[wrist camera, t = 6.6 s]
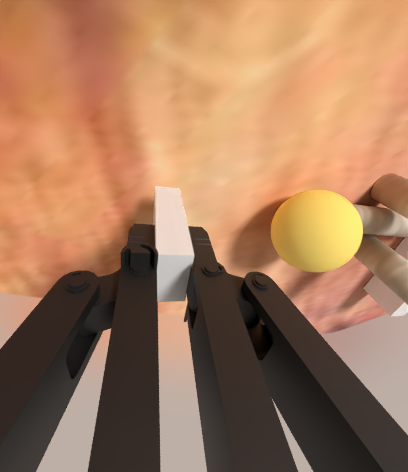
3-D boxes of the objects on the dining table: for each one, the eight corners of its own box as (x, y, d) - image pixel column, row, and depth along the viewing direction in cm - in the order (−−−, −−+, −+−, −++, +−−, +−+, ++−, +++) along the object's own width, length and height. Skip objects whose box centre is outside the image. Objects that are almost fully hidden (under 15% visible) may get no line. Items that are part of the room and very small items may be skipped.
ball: (363, 188, 17) (285, 169, 18) (403, 229, 12) (292, 201, 13) (325, 249, 21) (261, 232, 21) (344, 300, 16) (259, 276, 16)
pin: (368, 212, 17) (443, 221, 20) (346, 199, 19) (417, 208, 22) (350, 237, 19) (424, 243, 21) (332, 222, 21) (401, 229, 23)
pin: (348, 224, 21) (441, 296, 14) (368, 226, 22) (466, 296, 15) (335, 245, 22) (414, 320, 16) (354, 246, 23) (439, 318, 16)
